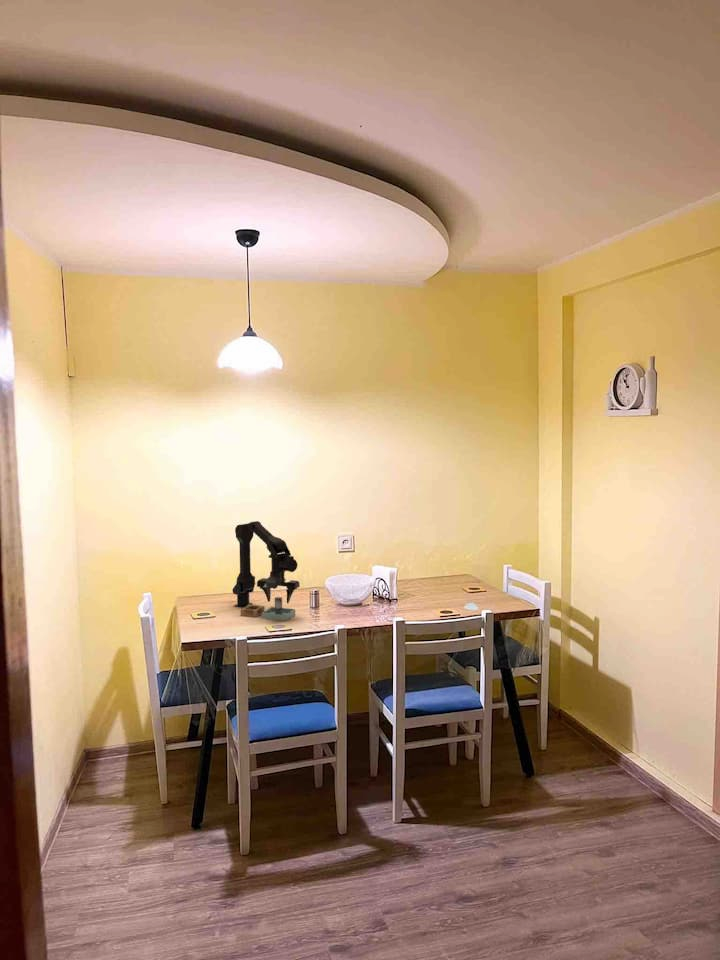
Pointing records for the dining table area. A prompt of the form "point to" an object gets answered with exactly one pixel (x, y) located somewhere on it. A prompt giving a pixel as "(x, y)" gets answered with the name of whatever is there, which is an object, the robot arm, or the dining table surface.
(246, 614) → the socket block
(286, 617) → the tray
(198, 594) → the dining table surface
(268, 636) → the dining table surface
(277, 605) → the pin
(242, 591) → the robot arm
